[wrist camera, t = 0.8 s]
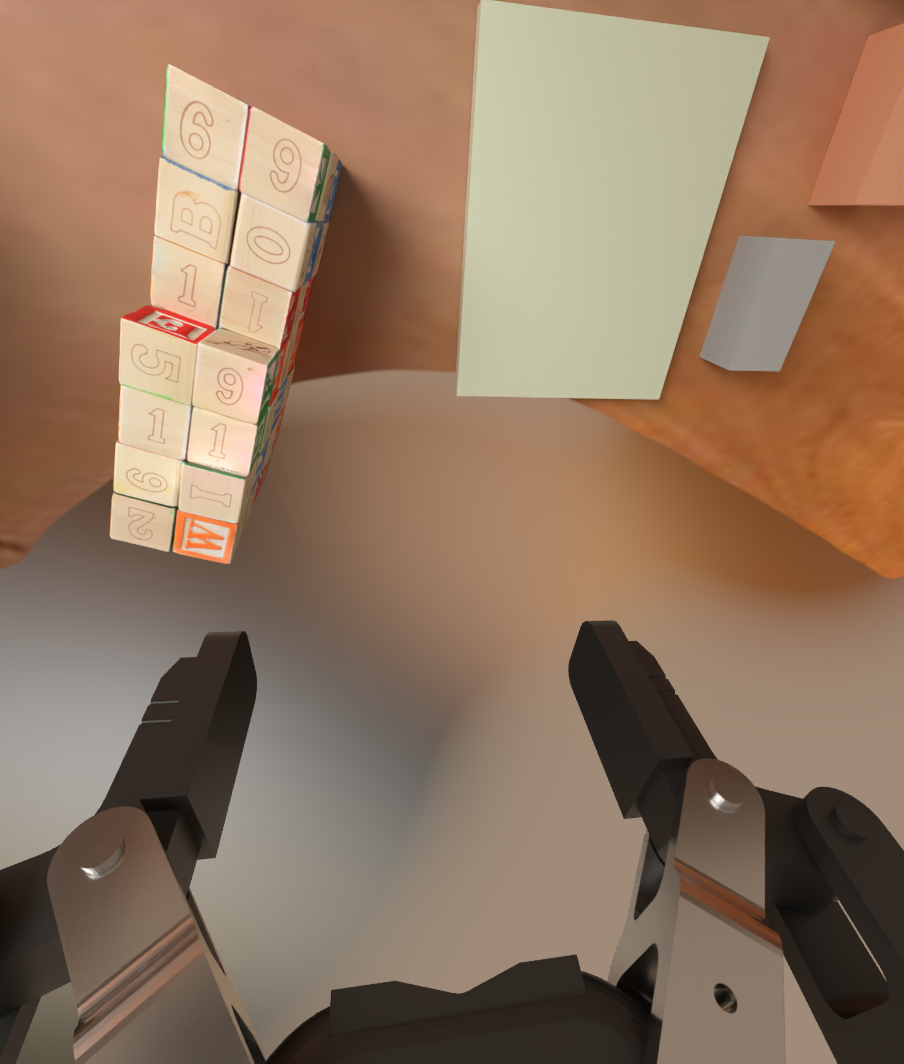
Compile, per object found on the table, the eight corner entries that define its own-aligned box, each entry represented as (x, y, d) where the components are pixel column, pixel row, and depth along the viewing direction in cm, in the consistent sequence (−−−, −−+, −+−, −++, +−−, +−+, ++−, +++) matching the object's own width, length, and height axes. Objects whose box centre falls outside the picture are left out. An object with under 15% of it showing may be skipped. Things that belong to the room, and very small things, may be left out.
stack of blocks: (230, 103, 25) (131, 31, 15) (344, 163, 27) (323, 133, 17) (183, 448, 36) (105, 542, 25) (269, 473, 38) (228, 569, 27)
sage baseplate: (477, 7, 24) (481, -1, 23) (755, 43, 26) (770, 37, 25) (454, 391, 35) (456, 396, 34) (651, 394, 38) (659, 399, 37)
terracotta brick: (866, 36, 27) (932, 12, 24) (927, 40, 28) (1000, 17, 24) (805, 205, 32) (854, 204, 28) (858, 206, 32) (913, 205, 29)
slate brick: (737, 235, 32) (778, 237, 29) (790, 238, 33) (835, 241, 29) (697, 356, 37) (729, 370, 33) (744, 357, 37) (779, 371, 34)
